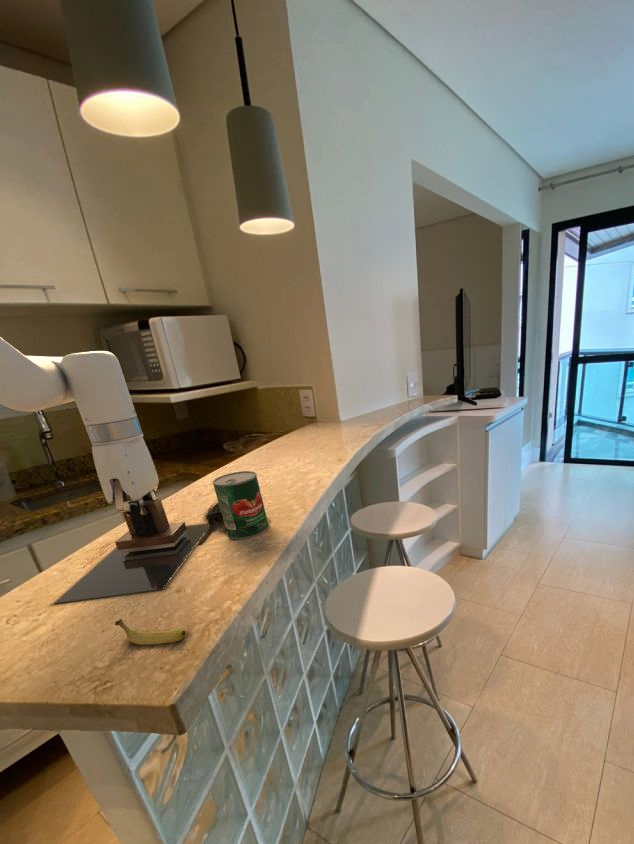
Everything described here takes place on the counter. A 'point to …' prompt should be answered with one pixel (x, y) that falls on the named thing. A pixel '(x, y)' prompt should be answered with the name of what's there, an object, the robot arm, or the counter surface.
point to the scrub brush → (165, 531)
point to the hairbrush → (214, 512)
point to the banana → (151, 635)
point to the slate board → (136, 569)
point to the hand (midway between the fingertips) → (150, 530)
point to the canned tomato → (241, 504)
